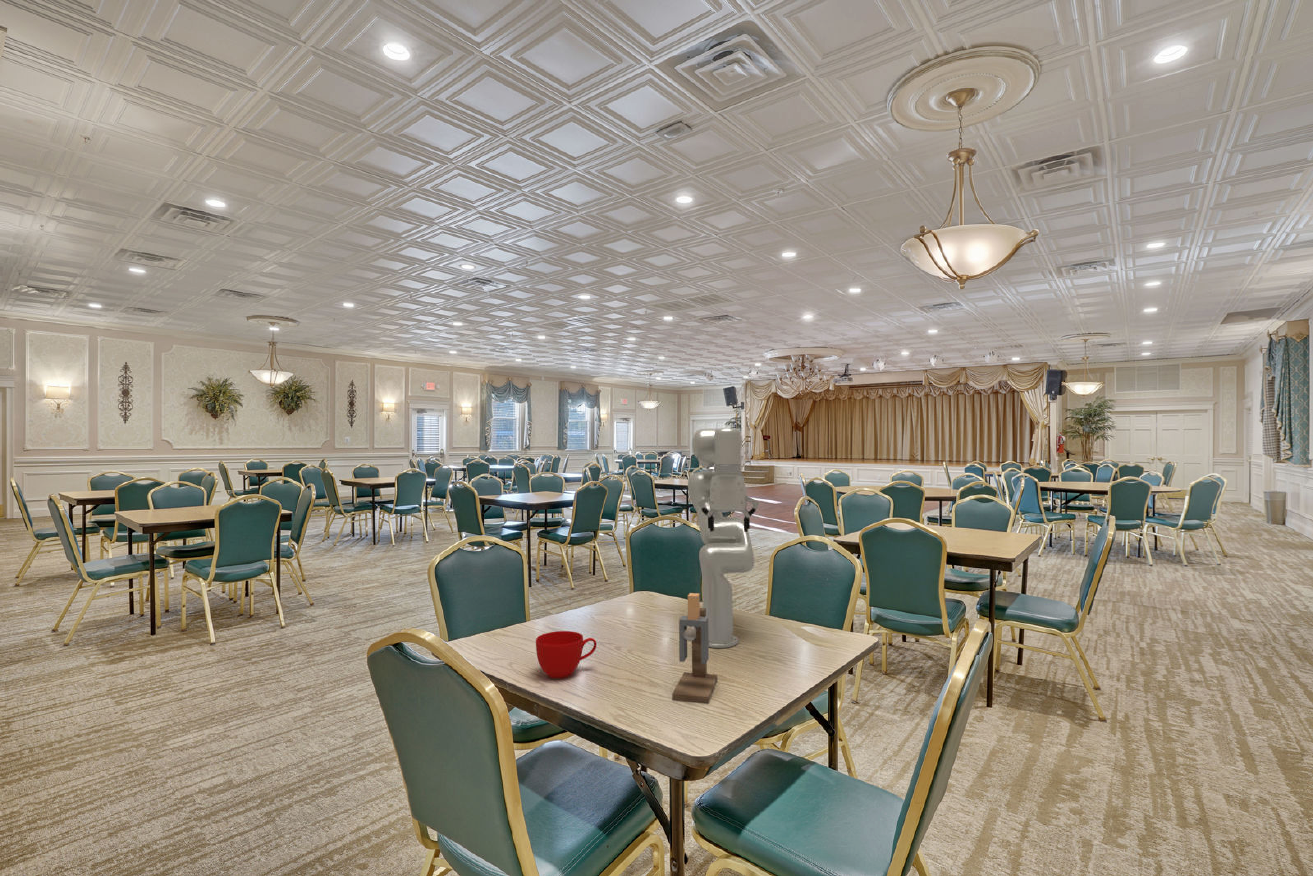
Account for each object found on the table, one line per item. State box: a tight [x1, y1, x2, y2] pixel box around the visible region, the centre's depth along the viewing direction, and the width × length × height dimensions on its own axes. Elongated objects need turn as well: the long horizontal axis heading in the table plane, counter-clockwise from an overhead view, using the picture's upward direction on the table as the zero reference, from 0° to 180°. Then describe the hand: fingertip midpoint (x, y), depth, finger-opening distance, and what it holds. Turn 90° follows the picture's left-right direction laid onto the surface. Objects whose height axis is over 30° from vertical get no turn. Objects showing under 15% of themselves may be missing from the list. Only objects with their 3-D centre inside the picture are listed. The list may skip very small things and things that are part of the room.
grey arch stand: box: [678, 592, 710, 664], centre depth 150 cm, size 7×4×16 cm, turn 75°
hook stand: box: [671, 607, 718, 704], centre depth 150 cm, size 16×9×19 cm, turn 166°
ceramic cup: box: [535, 630, 597, 679], centre depth 163 cm, size 13×17×10 cm
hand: (728, 531), depth 167 cm, fingers open, 9 cm apart
